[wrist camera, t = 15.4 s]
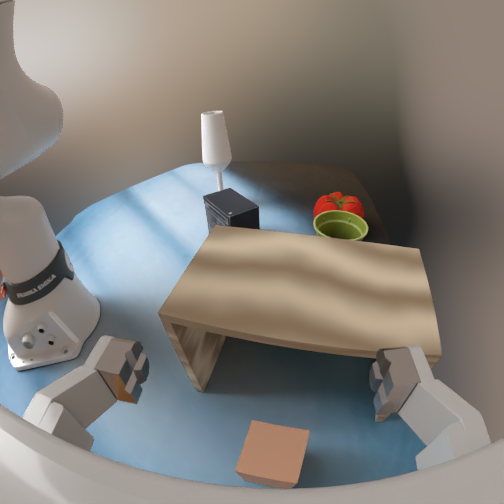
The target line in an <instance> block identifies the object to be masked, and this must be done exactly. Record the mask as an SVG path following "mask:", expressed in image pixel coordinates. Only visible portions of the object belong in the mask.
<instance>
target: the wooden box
mask: <svg viewBox="0 0 504 504" xmlns="http://www.w3.org/2000/svg"><path fill="white" fill-rule="evenodd" d="M158 314H159V316H160V318H161V321H162V323H163V325H164V327H165V329H166V331H167V334H168V336H169V338H170V340H171V342H172V344H173V346H174V348H175V350H176V352H177V354H178V356H179V358H180V360H181V362H182V364H183V366H184V368H185V370H186V372H187V374H188V376H189V378H190V380H191V381H192V383H193V385H194V387H195V389H196V391H200V392H203V393H204V390H205V388H206V385H207V383H208V381H209V378H210V376H211V373H212V371H213V369H214V366H215V364H216V361H217V359H218V357H219V354H220V352H221V349H222V347H223V345H224V342H225V340H226V337H227V336H230V337H234V338H239V339H244V340H249V341H255V342H260V343H265V344H271V345H277V346H283V347H289V348H295V349H301V350H308V351H315V352H323V353H330V354H338V355H347V356H356V357H366V358H376V354H377V351H378V350H379V349H381V348H391V347H400V346H411V345H420V346H421V348H422V350H423V353H424V355H425V357H426V360H427V362H428V364H429V367H430V369H432V368H433V366H434V365H435V364H436V362H437V361H438V360H439V359H440V357H441V356H442V351H441V345H440V337H439V332H438V326H437V321H436V315H435V310H434V306H433V301H432V297H431V293H430V288H429V284H428V280H427V276H426V273H425V269H424V265H423V262H422V258H421V255H420V251H419V249H414V248H406V247H400V246H392V245H385V244H377V243H370V242H362V241H354V240H346V239H338V238H329V237H321V236H312V235H304V234H295V233H286V232H277V231H267V230H258V229H248V228H238V227H228V226H218V225H215V227H214V228H213V229H212V231H211V232H210V234H209V235H208V237H207V238H206V240H205V241H204V243H203V244H202V246H201V247H200V249H199V250H198V252H197V253H196V255H195V256H194V258H193V259H192V261H191V262H190V264H189V265H188V267H187V268H186V270H185V271H184V273H183V274H182V276H181V278H180V279H179V281H178V282H177V284H176V285H175V287H174V288H173V290H172V292H171V293H170V295H169V296H168V298H167V299H166V301H165V303H164V304H163V306H162V307H161V309H160V311H159V312H158ZM390 414H391V413H389V414H381V415H376V416H375V422H383V421H384V420H385V419H386V418H387V417H388V416H389V415H390Z"/></svg>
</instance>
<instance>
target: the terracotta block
mask: <svg viewBox="0 0 504 504" xmlns="http://www.w3.org/2000/svg"><path fill="white" fill-rule="evenodd" d="M309 433H310V430H305V429H298V428H292V427H286V426H280V425H275V424H270V423H265V422H260V421H255V420H252V421H251V424H250V427H249V430H248V433H247V437H246V440H245V443H244V446H243V449H242V452H241V455H240V458H239V460H238V463H237V466H236V469H235V471H236V472H237V473H238V474H239V475H240V476H241V477H242V478H243V479H244V480H245V481H248V482H253V483H257V484H262V485H267V486H272V487H277V488H283V489H291V488H292V487H293V486H295V485H296V484H297V482H298V479H299V475H300V471H301V467H302V463H303V459H304V455H305V451H306V446H307V442H308V437H309Z"/></svg>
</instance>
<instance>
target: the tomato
mask: <svg viewBox="0 0 504 504" xmlns="http://www.w3.org/2000/svg"><path fill="white" fill-rule="evenodd" d="M347 196H349V195H347ZM347 196H345V197H344V196H343V195H342V194H341V193H340V192H334V193H332V194H331V193H330V195H326V196H322V197H321V198H320V199H318V201H317V203H316V205H315V207H314V212H313V214H314V219H315V217H316V216H317V215H319V214H321V213H323V212H326V211H332V210H340V211H347V212H350V213H353V214H355V215H357V216H359V217H361V218H362V219H363V217H364V210H363V207H362V205H361V203H360V201H359V200H358V199H357V198H356V197H352V196H349V197H347Z"/></svg>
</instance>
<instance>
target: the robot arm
mask: <svg viewBox="0 0 504 504" xmlns="http://www.w3.org/2000/svg"><path fill="white" fill-rule="evenodd" d="M14 3H15V1H13V0H0V179H2V178H3V177H5V176H6V175H8V174H9V173H11V172H13V171H15V170H16V169H18V168H20V167H22V166H23V165H25V164H27V163H29V162H30V161H32V160H34V159H35V158H36V157H38V156H39V155H40V154H42V153H43V152H44V151H45V150H47V149H48V148H49V147H50V146H52V145H53V144H54V143H56V142H57V140H58V138H59V136H60V133H61V129H62V125H63V109H62V105H61V102H60V100H59V98H58V97H57V95H56V94H55V93H54V92H53V91H52V90H51V89H49V88H48V87H46V86H43V85H40V84H38V83H36V82H35V81H33V80H32V79H30V78H29V77H28V76H27V75H26V74H25V73H24V72H23V70H22V69H21V67H20V65H19V63H18V61H17V59H16V55H15V51H14V43H13V42H14V41H13V15H14ZM0 269H1V271H2V275H3V279H2V282H1V286H2V290H1V295H2V294H3V298H4V299H5V297H6V294H7V295H8V296H9V298H8V301H7V305H6V308H5V313H4V318H3V331H4V335H5V338H6V340H7V342H8V353H9V358H10V361H11V364H12V365H13V367H14V368H15V369H16V370H17V371H20V370H25V369H30V368H35V367H39V366H44V365H48V364H53V363H57V362H62V361H66V360H70V359H74V358H76V357H77V356H78V355H79V353H80V351H81V348H82V346H83V343H84V341H85V340H86V339H87V338H88V336H89V335H90V334H91V333H92V331H93V330H94V328H95V327H96V325H97V322H98V320H99V317H100V304H99V301H98V299H97V298H96V297H95V296H94V295H93V294H91V293H90V292H89V291H88V290H87V289H86V287H85V286H84V285H83V284H82V283H81V281H80V280H79V278H78V277H77V276H76V274H75V273H74V269H73V265H72V263H71V261H70V259H69V257H68V255H67V253H66V251H65V250H64V248H63V246H62V244H61V243H60V241H58V240H57V239H56V237H55V235H54V233H53V230H52V228H51V226H50V224H49V221H48V219H47V216H46V214H45V211H44V209H43V207H42V205H41V204H40V203H39V202H38V201H37V200H36V199H34V198H32V197H29V196H11V197H2V196H0ZM142 350H143V347H142V345H141V343H140V342H138V341H133V340H127V339H122V338H116V337H111V336H105V335H103V336H102V337H100V338H99V340H98V342H97V343H96V345H95V347H94V348H93V350H92V352H91V353H90V355H89V357H88V358H87V360H86V362H85V363H84V365H83V366H78V367H77V368H75V369H74V370H72V371H70V372H69V373H67V374H65V375H64V376H62V377H61V378H59V379H57V380H56V381H54V382H53V383H51V384H49V385H48V386H46V387H44V388H43V389H41V390H40V391H38V392H36V394H35V396H34V397H33V399H32V401H31V403H30V404H29V406H28V408H27V410H26V412H25V413H24V415H23V417H22V418H21V417H20V416H18V415H16V414H15V413H13V412H12V411H10V410H9V409H7V408H5V407H4V406H2V405H1V404H0V504H504V437H503V438H500V439H498V440H496V441H494V442H492V443H491V441H490V438H489V435H488V432H487V429H486V427H485V423H484V421H483V418H482V415H481V413H480V412H478V411H477V410H476V409H475V408H474V407H472V406H471V405H470V404H469V403H467V402H466V401H465V400H464V399H462V398H461V397H460V396H459V395H457V394H456V393H455V392H454V391H452V390H451V389H450V388H449V387H447V386H446V385H445V384H443V383H442V382H441V381H439V380H438V379H437V380H435V379H434V377H433V374H432V372H431V369H430V367H429V364H428V362H427V360H426V357H425V355H424V353H423V350H422V348H421V346H420V345H411V346H400V347H391V348H381V349H379V350H378V351H377V354H376V359H377V361H376V362H374V363H373V364H372V366H371V369H370V375H369V382H370V387H371V390H372V391H373V392H375V393H376V395H375V397H374V399H373V402H374V406H375V411H376V415H381V414H389V413H396V412H398V414H399V415H400V416H401V417H402V419H403V420H404V421H405V422H406V423H407V424H408V425H409V426H410V428H411V429H412V430H413V431H414V432H415V433H416V434H417V436H418V437H419V438H420V439H421V440H422V441H423V442H424V443H425V445H426V447H425V448H424V449H423V450H422V451H421V452H420V453H418V455H417V456H416V457H415V458H416V463H417V469H418V471H414V472H410V473H406V474H402V475H398V476H394V477H389V478H384V479H379V480H374V481H368V482H362V483H355V484H348V485H340V486H330V487H317V488H293V489H273V488H249V487H236V486H226V485H218V484H210V483H203V482H197V481H191V480H186V479H181V478H176V477H171V476H167V475H162V474H158V473H154V472H150V471H147V470H143V469H139V468H136V467H133V466H129V465H126V464H123V463H120V462H117V461H114V460H111V459H108V458H105V457H103V456H100V455H97V454H95V453H92V452H90V449H91V447H92V444H93V441H94V439H93V436H92V435H91V434H89V433H88V432H87V431H86V430H85V429H86V428H87V427H88V426H89V425H90V424H92V423H93V422H94V421H95V420H96V419H97V418H98V417H100V416H101V415H102V414H103V413H104V412H105V411H106V410H108V409H109V408H110V407H111V406H112V405H113V404H114V403H116V402H117V400H120V401H125V402H129V403H134V404H137V402H138V400H139V397H140V395H141V392H142V387H141V384H142V383H143V382H145V381H146V380H147V377H148V374H149V361H148V359H147V356H145V355H144V354H143V353H142Z"/></svg>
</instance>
